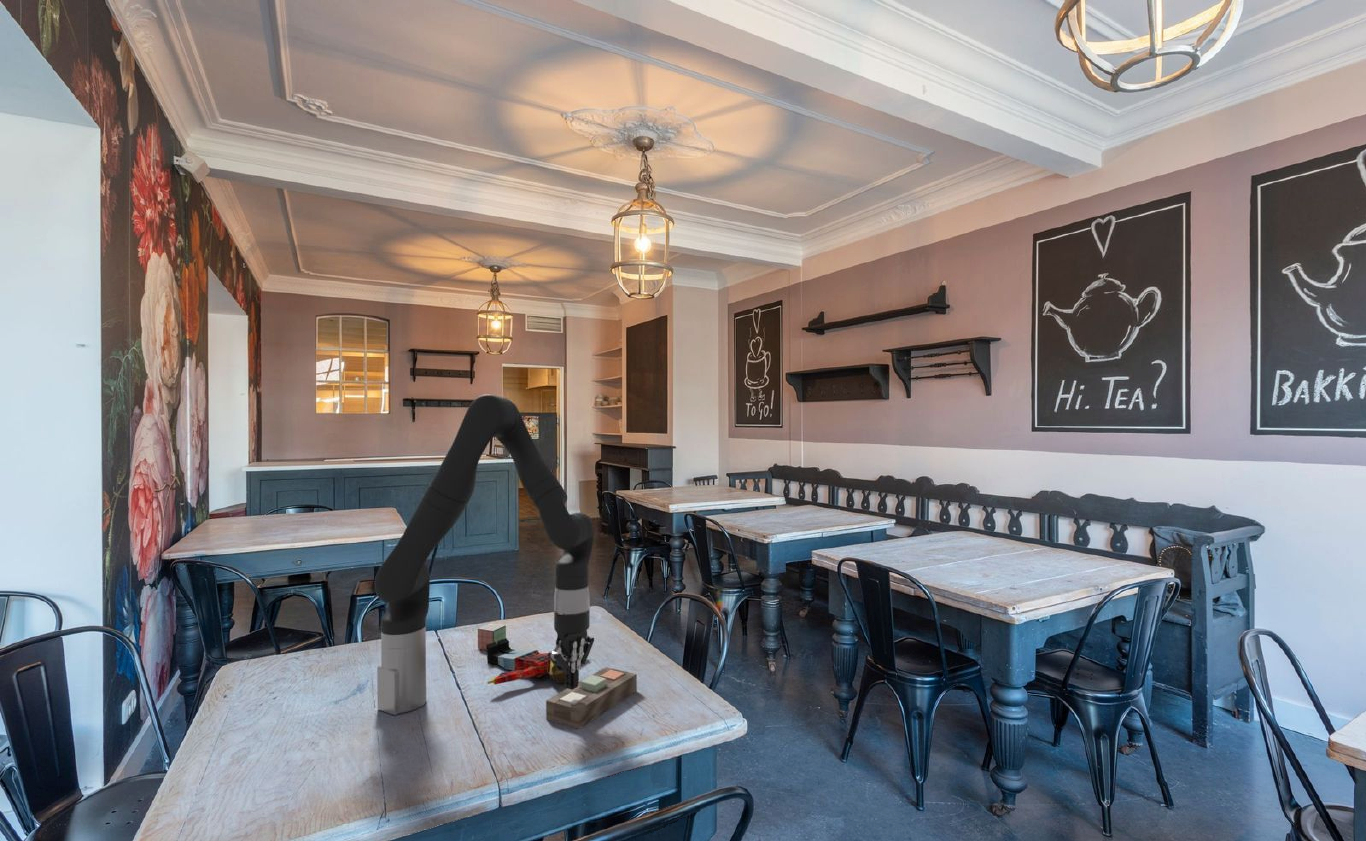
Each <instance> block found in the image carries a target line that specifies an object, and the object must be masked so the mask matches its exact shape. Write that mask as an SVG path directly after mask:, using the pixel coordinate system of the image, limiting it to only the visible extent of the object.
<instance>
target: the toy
mask: <svg viewBox="0 0 1366 841" xmlns="http://www.w3.org/2000/svg"><path fill="white" fill-rule="evenodd" d="M497 643H498V644H497ZM497 643H496V642H493V643H490V644H487V645H486V649H487V650H486V658H487V660H486V662H487V664H488V665H491V666H492V665H498V666H501V667H503V669H505V670H509V671H503V672H501V673H499V674H498V675H496V676H493V677H492V678H490V680H488V681H487V684H494V685H500V684H504V683H509V682H514V681H517V680H521V679H524V678H525V679H526V678H530V677H536V678H539V677H541V676H545V675H546V674H549V676H550V677H551V678H552V679H554V681H556V683H558V684H564V685H565V672H563V671H559V670H557V668H556V667H555V665H554V664H553V663H552V661H551V660H550V658H549V657H548V653H549V652H545V653H540V652H539V650H538V649H536V650H530V649H528V648H527V649H526V648H525V649H514V648H513V649H512V648H511V647H510V641H509V639H507V637H506V638H505V639H502V640H499V641H497Z"/></svg>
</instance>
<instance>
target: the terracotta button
mask: <svg viewBox="0 0 1366 841" xmlns="http://www.w3.org/2000/svg"><path fill="white" fill-rule="evenodd" d="M622 676H624V673H622V672H618V671H613V670H609V671H608V672H606V673H604V674H602V675H601V676H600V677H602V678H606V679H608V680H612V681H615V680H617V679H619V678H620V677H622Z"/></svg>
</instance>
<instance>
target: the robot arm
mask: <svg viewBox="0 0 1366 841" xmlns="http://www.w3.org/2000/svg"><path fill="white" fill-rule="evenodd" d="M468 406H469V407H468V408H467V411H466V412H465V414H464V416H463V419H462V422H461V423H460V426H459V428H458V431H457V433H456V435H455V438H454V440H453V442H452V444H451V446H450V448H449V450H448V451H447V453H446V454H445V456H444V459H443V461H442V463H441V464H440V466H439V469H438V470H437V472H436V474H435V475H434V477H433V478H432V479H431V482H430V483H429V485H428V486H427V488H426V490H425V492H424V494H423V495H422V497H421V499H420V502H419V503H418V505H417V507H416V509H415V511H414V512H413V514H412V516H411V518H410V520H409V522H408V523H407V526H406V528H405V530H404V531H403V533H402V536H401V537H400V539H399V540H398V542H397V543H396V545H395V547H393V549H392V550H391V552H390V553H389V555H388V556H387V558H386V559H385V560H384V562H383V564H381V566H380V567H379V569H378V571H377V573H376V575H375V577H374V583H373V584H374V585H373V586H374V591H375V594H376V596H377V598H378V599H379V600H380V601H382V602H384V603H387V608H386V611H385V613H384V615H383V616H382V618H381V622H380V632H381V633H380V640H381V641H380V642H381V643H380V644H381V645H380V647H381V648H380V651H381V655H380V656H381V657H380V660H381V662H380V664H381V665H378V666H377V667H376V668H377V669H376V670H377V671H376V675H377V676H376V677H377V678H376V679H377V682H376V683H377V686H376V687H377V689H376V690H377V693H376V694H377V710H379V711H382V712H385V713H387V714H390V715H393V716H396V715H398V714H402V713H408V712H411V711H415V710H417V709H420V708H421V707H422V706H424V705H425V703H426V702H427V642H426V640H427V639H426V638H427V637H426V636H427V635H426V632H427V631H426V630H427V629H426V628H427V627H426V626H427V625H426V621H427V616H428V613H429V608H430V584H431V581H430V580H431V579H430V571H429V567H428V565H427V563H426V562H427V560H428V558H429V556H430V554H431V553H432V551H433V550H434V549H435V547H436V546H438V544H439V543H440V542H441V541H442V539H443V538H444V537H446V536H447V534H448V533H449V532H450V531H451V529H452V528H454V526H455V524H456V523H457V522H458V521H459V519H460V517H461V516H462V515H463V513H464V511H465V509H466V507H467V506H468V504H469V501H470V500H471V497H472V496H473V493H474V489H475V486H476V478H477V473H478V472H477V470H478V464H479V462H480V460H481V457H482V456H483V453H484V451H485V450H486V448H487V447H488V445H489V443H490V442H491V440H492V439H493V438H496V439H497V441H498V442H500V444H502V446H503V447H504V448H505V450H506V451H507V452H508V453H509V455H510V456H511V459H512V461H513V463H514V466H515V468H516V472H517V475H518V478H519V482H520V483H521V486H522V487H523V489H524V491H525V493H526V494H527V495H528V498H529V499H530V500H531V502H532V503H533V506H535V508H536V510H538V513H539V516H540V519H541V522H542V524H543V528H544V530H545V533H546V535H547V537H548V539H549V540H550V542H551V543H552V544H553V545H554V546H555V547H556V548H558V549H561V550H563V554H562V556H561V558H560V559H559V560H558V561H557V563H556V564H555V579H554V580H555V586H554V587H555V588H554V597H553V599H554V600H553V610H554V611H553V613H554V614H553V627H554V628H553V629H554V631H555V632H556V635H557V636H556V640H555V647H554V649H553V651H552V650H551V651H550V650H549V652H547V653H548V657H549V658H550V660H551V661H552V663H553V664H554V665H555V667H556V668H557V670H559V671H563V672H565V684H564V686H565V689H567V688H568V689H571V690H573V689H575V688H577V687H578V682H580V681H579V680H580V679H579V677H580V675H579V674H580V672H579V671H580V670H581V667H582V665H585V664H586V662H587V660H588V658H589V654H590V652H591V650H592V648H593V645H594V642H595V637H592V636H589V635H588V630H589V629H590V626H591V625H590V624H591V623H590V617H591V616H590V604H591V603H590V596H591V595H590V591H589V590H590V588H589V563H590V560H591V556H592V550H593V545H594V539H595V528H594V524H593V521H592V519H591V518H590V517H589V516H588V515H587V514H585V513H582V512H574V513H571V514H570V513H569V511H568V509H567V507H566V505H565V504H566V503H567V501H568V494H567V492H566V490H565V489H564V488H563V486H562V484H561V483H560V482H559V480H558V479H557V477H556V476H555V474H554V472H552V470H551V468H550V467H549V466H548V463H546V461H545V459H544V458H543V456H542V454H541V452H540V451H539V449H538V448H537V446H536V444H535V442H534V440H533V438H532V436H531V434H530V432H529V430H528V428H527V426H526V423H525V421H524V419H523V417H522V415H521V412H520V410H519V408H518V407H517V405H516V404H515V402H513V401H511V400H510V399H507V398H505V397H501V396H498V395H494V394H491V393H490V394H488V393H487V394H482V395H480V396H478V397H476V398H475V399H474V400H473V401H472V402H471V403H470V405H468Z"/></svg>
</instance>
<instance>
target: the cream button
mask: <svg viewBox="0 0 1366 841" xmlns="http://www.w3.org/2000/svg"><path fill="white" fill-rule="evenodd" d="M585 698H586V696H585V695H582V694H578V693H574V692H571V693H569V694H567V695H566V696H564V697H562V698H560V701H561V702H565V703H569V704H572V705H575V704H577V703H579V702H580V701H582V700H584V699H585Z"/></svg>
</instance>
